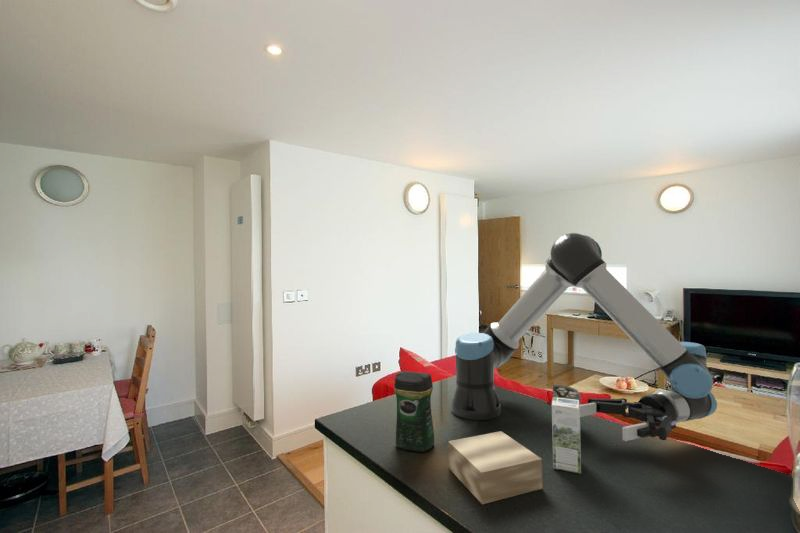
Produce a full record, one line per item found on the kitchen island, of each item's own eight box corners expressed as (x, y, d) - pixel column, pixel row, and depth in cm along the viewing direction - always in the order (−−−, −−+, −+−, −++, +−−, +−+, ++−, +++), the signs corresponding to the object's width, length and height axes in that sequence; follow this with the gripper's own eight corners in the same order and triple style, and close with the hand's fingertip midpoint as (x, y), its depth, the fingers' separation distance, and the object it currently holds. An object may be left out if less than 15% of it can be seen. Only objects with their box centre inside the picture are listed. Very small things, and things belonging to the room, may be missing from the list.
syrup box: (581, 462, 86) (579, 398, 86) (581, 475, 80) (579, 407, 80) (554, 457, 88) (552, 395, 88) (552, 469, 83) (551, 404, 83)
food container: (587, 437, 98) (587, 399, 98) (562, 435, 99) (561, 398, 99) (575, 418, 110) (574, 384, 110) (553, 417, 111) (552, 383, 111)
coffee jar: (438, 442, 97) (436, 370, 97) (426, 456, 90) (425, 378, 90) (404, 435, 101) (402, 366, 101) (391, 448, 94) (389, 374, 94)
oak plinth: (448, 468, 84) (448, 441, 84) (501, 456, 89) (501, 431, 89) (482, 504, 71) (481, 472, 71) (542, 488, 76) (541, 458, 76)
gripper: (719, 445, 82) (649, 464, 75) (618, 407, 106) (558, 418, 99) (718, 411, 82) (648, 427, 75) (618, 380, 106) (558, 390, 99)
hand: (597, 422), depth 87 cm, fingers open, 13 cm apart
